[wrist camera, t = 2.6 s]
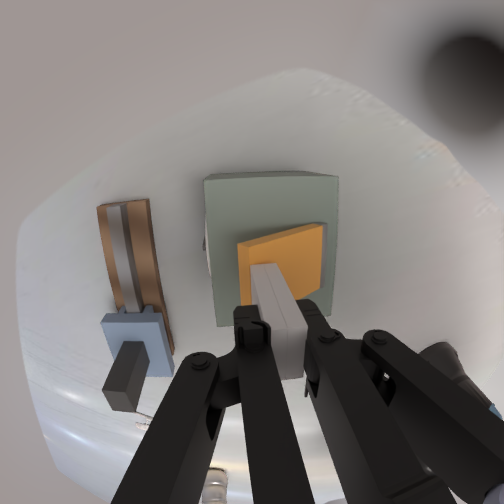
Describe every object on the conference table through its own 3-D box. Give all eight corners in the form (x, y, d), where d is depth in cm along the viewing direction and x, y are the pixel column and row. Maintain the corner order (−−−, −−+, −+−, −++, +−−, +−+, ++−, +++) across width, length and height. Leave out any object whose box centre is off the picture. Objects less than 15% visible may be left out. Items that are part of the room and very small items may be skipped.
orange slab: (315, 280, 22) (327, 284, 22) (240, 317, 18) (252, 324, 17) (317, 221, 21) (330, 223, 20) (236, 243, 16) (249, 247, 15)
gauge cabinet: (302, 272, 33) (330, 315, 23) (213, 279, 32) (210, 327, 23) (302, 171, 29) (338, 176, 20) (204, 175, 28) (195, 181, 19)
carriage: (176, 357, 33) (163, 428, 22) (127, 356, 32) (103, 422, 21) (164, 304, 30) (140, 373, 19) (111, 306, 30) (72, 368, 19)
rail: (174, 348, 35) (171, 365, 31) (134, 348, 34) (128, 364, 31) (149, 198, 28) (139, 203, 25) (101, 204, 28) (88, 210, 25)
